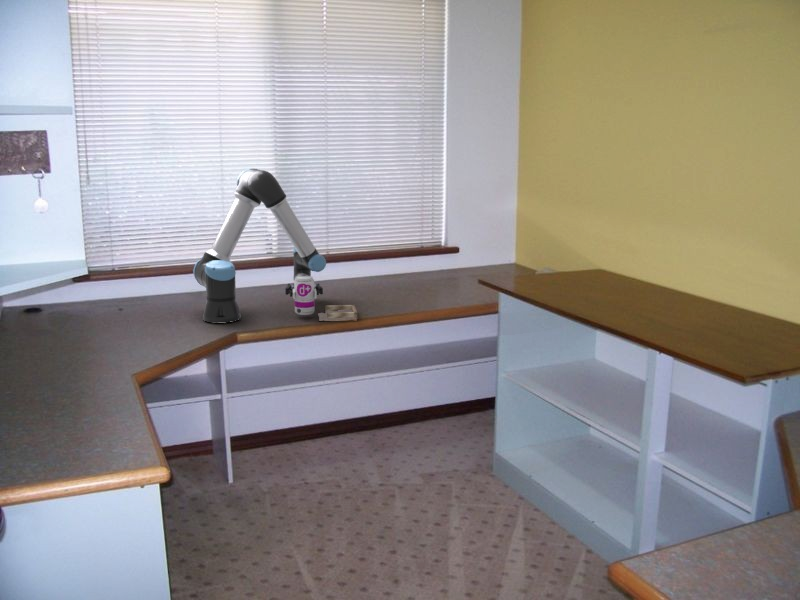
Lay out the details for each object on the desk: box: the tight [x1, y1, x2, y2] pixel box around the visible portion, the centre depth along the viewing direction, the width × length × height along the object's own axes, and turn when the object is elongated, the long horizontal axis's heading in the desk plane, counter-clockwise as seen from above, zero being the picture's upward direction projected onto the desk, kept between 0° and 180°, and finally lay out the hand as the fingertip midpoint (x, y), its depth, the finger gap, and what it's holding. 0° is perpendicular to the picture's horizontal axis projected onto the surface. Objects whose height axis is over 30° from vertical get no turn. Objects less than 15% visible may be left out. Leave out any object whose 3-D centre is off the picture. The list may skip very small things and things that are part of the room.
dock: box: [324, 304, 358, 318], centre depth 315 cm, size 16×15×3 cm
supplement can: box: [293, 275, 315, 316], centre depth 311 cm, size 8×8×15 cm
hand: (304, 295), depth 306 cm, fingers closed on supplement can, 8 cm apart
